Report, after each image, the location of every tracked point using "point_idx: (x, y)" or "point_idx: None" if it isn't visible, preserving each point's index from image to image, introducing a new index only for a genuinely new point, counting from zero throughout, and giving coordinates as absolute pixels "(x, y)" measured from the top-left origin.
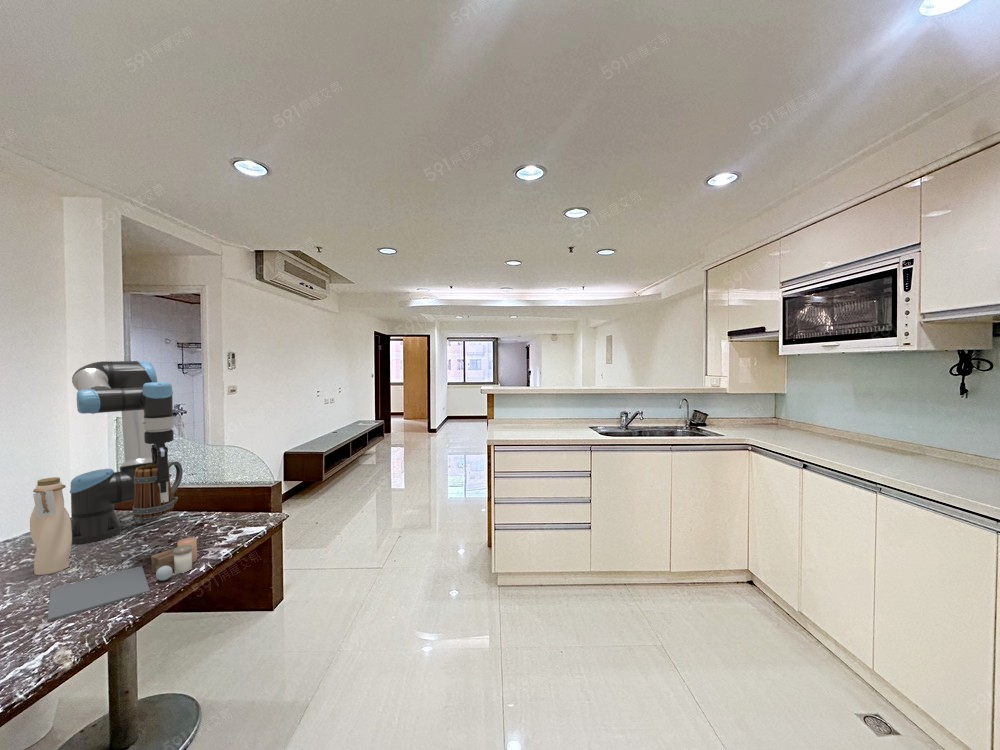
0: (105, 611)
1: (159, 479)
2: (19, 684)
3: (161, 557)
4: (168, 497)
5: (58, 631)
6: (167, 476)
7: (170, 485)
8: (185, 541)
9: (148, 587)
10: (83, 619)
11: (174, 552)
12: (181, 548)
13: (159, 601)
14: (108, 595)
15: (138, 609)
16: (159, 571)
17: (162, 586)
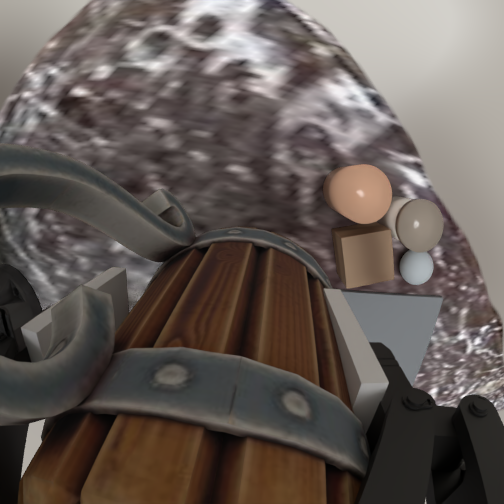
0: (441, 357)
1: (458, 469)
2: (496, 407)
3: (383, 270)
4: (346, 301)
5: (437, 400)
6: (497, 435)
7: (239, 294)
8: (370, 200)
9: (429, 297)
10: (435, 380)
11: (425, 250)
12: (421, 229)
13: (482, 288)
14: (398, 356)
15: (477, 318)
16: (425, 281)
17: (436, 272)
